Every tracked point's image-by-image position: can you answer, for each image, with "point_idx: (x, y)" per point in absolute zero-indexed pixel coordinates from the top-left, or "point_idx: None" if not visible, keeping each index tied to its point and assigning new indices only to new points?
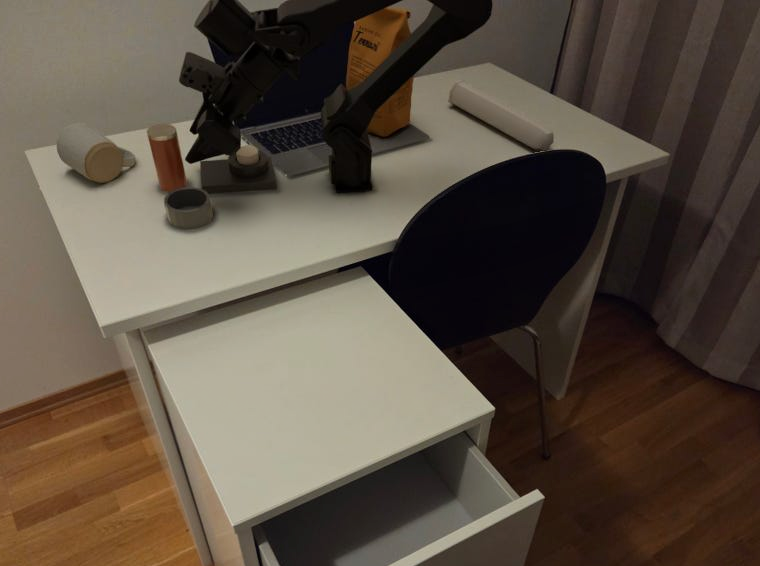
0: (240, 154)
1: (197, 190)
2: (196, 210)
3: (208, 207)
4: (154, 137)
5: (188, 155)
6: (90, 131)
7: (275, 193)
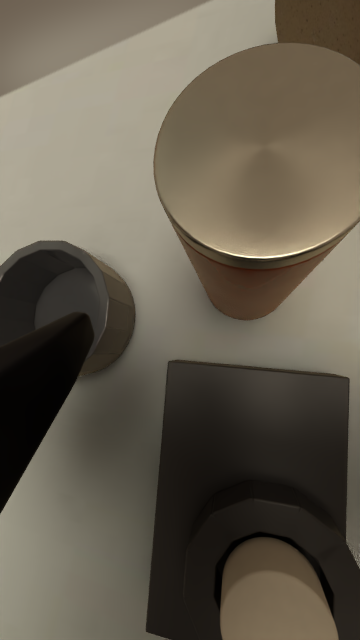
0: (244, 586)
1: None
2: None
3: None
4: (169, 111)
5: (41, 330)
6: None
7: (146, 586)
